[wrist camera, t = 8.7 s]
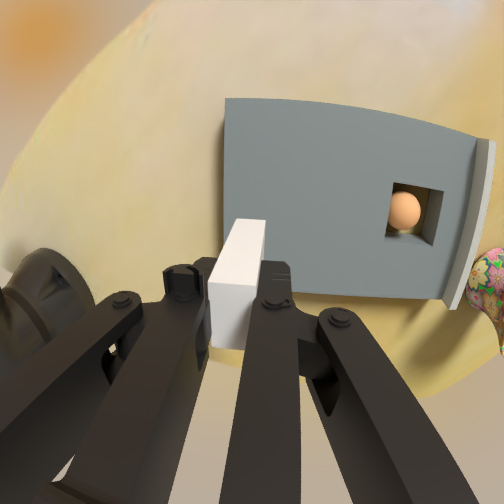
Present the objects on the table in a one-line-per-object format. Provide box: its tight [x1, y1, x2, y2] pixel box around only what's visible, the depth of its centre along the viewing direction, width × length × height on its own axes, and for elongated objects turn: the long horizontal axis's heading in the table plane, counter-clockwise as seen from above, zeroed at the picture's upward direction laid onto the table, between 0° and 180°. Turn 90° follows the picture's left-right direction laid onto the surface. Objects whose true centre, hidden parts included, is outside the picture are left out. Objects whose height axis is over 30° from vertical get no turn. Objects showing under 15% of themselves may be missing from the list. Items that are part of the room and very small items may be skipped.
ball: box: [387, 191, 420, 230], centre depth 23 cm, size 4×4×4 cm
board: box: [224, 98, 496, 310], centre depth 23 cm, size 24×17×5 cm
